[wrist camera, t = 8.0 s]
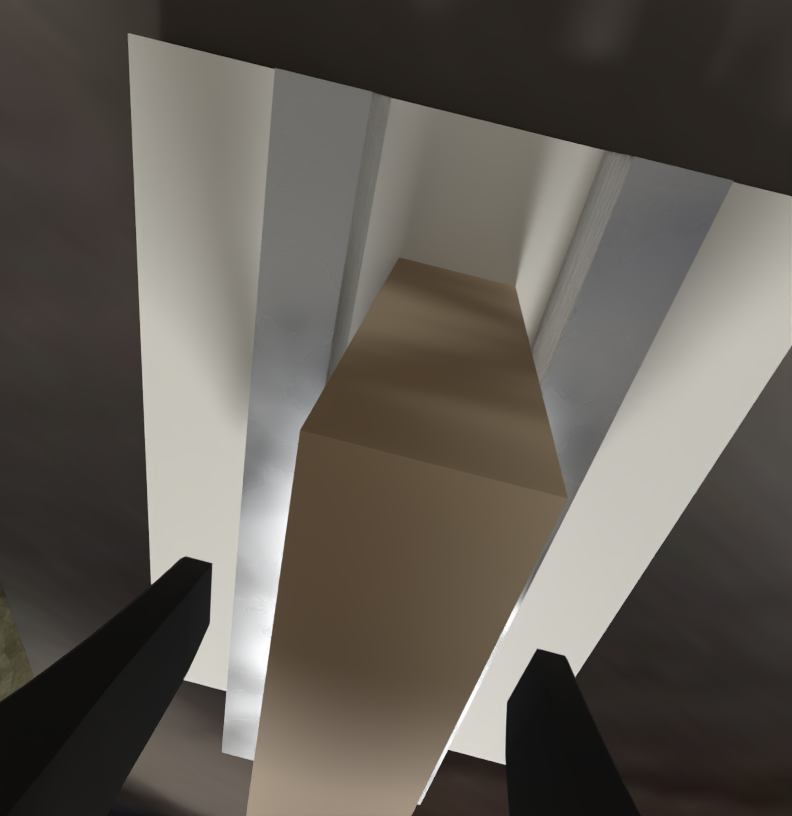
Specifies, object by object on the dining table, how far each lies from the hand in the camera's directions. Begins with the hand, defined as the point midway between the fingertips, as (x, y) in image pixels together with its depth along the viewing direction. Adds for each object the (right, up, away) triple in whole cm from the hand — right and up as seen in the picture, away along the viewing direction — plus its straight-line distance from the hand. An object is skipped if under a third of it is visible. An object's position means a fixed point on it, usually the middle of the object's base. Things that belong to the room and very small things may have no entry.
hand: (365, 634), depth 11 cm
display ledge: (+1, +2, +4) cm, 5 cm away
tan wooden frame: (0, +2, +3) cm, 4 cm away
